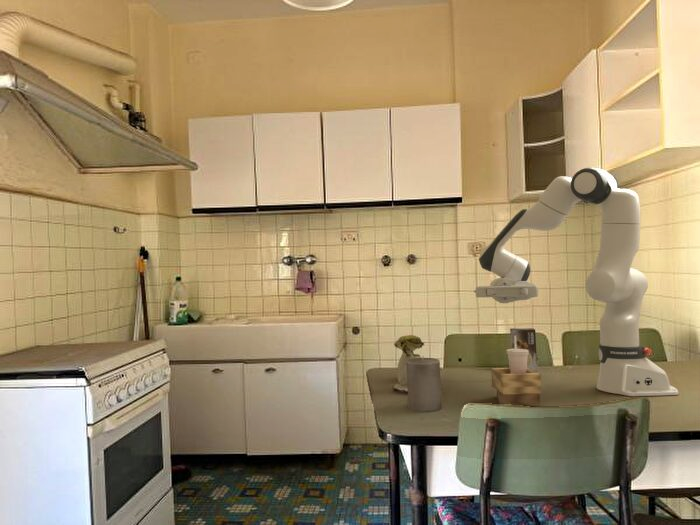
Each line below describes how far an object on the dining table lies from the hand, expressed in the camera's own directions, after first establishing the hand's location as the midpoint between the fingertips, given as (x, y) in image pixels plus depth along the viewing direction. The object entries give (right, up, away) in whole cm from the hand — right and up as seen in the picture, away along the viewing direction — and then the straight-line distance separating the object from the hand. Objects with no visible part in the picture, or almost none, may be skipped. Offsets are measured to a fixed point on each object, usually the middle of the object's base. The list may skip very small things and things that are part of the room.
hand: (508, 292), depth 168 cm
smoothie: (-1, -26, -14) cm, 30 cm away
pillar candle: (-30, -33, -18) cm, 48 cm away
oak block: (-2, -28, -14) cm, 32 cm away
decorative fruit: (-28, -34, +21) cm, 49 cm away
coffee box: (+17, -33, +34) cm, 50 cm away
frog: (-31, -33, +4) cm, 45 cm away
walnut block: (-2, -32, -14) cm, 35 cm away
